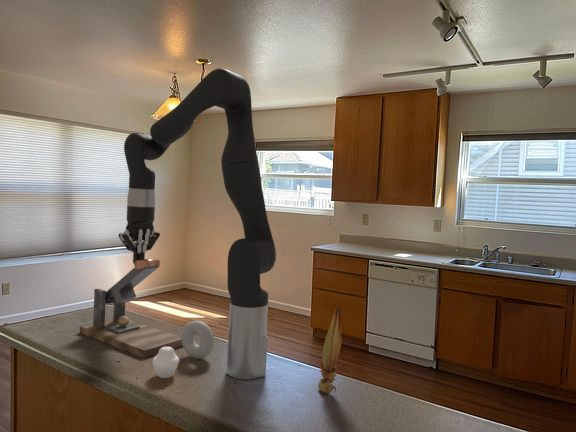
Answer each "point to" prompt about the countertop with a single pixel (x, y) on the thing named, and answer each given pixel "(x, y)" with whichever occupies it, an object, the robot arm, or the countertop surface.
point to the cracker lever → (131, 281)
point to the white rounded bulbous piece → (165, 362)
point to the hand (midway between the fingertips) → (138, 265)
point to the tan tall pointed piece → (331, 353)
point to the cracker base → (126, 330)
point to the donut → (204, 335)
